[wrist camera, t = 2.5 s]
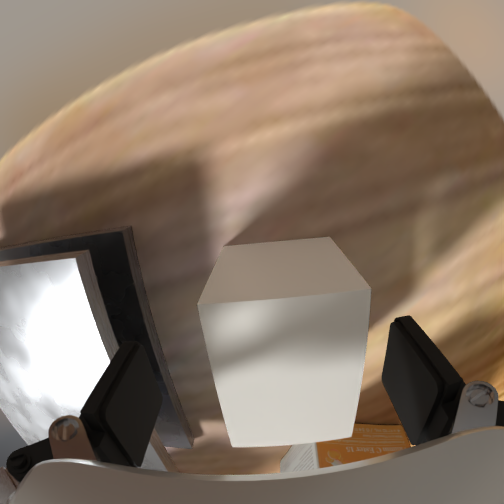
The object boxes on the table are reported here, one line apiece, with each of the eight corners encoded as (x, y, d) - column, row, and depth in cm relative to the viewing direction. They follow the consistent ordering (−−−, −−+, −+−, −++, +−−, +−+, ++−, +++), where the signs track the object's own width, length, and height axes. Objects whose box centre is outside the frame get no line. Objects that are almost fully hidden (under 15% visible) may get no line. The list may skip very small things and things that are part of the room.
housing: (329, 236, 14) (371, 288, 8) (328, 356, 16) (351, 436, 10) (223, 245, 14) (197, 304, 8) (241, 363, 16) (232, 447, 10)
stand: (130, 226, 14) (75, 257, 9) (194, 439, 18) (182, 492, 14) (-17, 251, 15) (-62, 274, 10) (55, 415, 19) (32, 450, 15)
